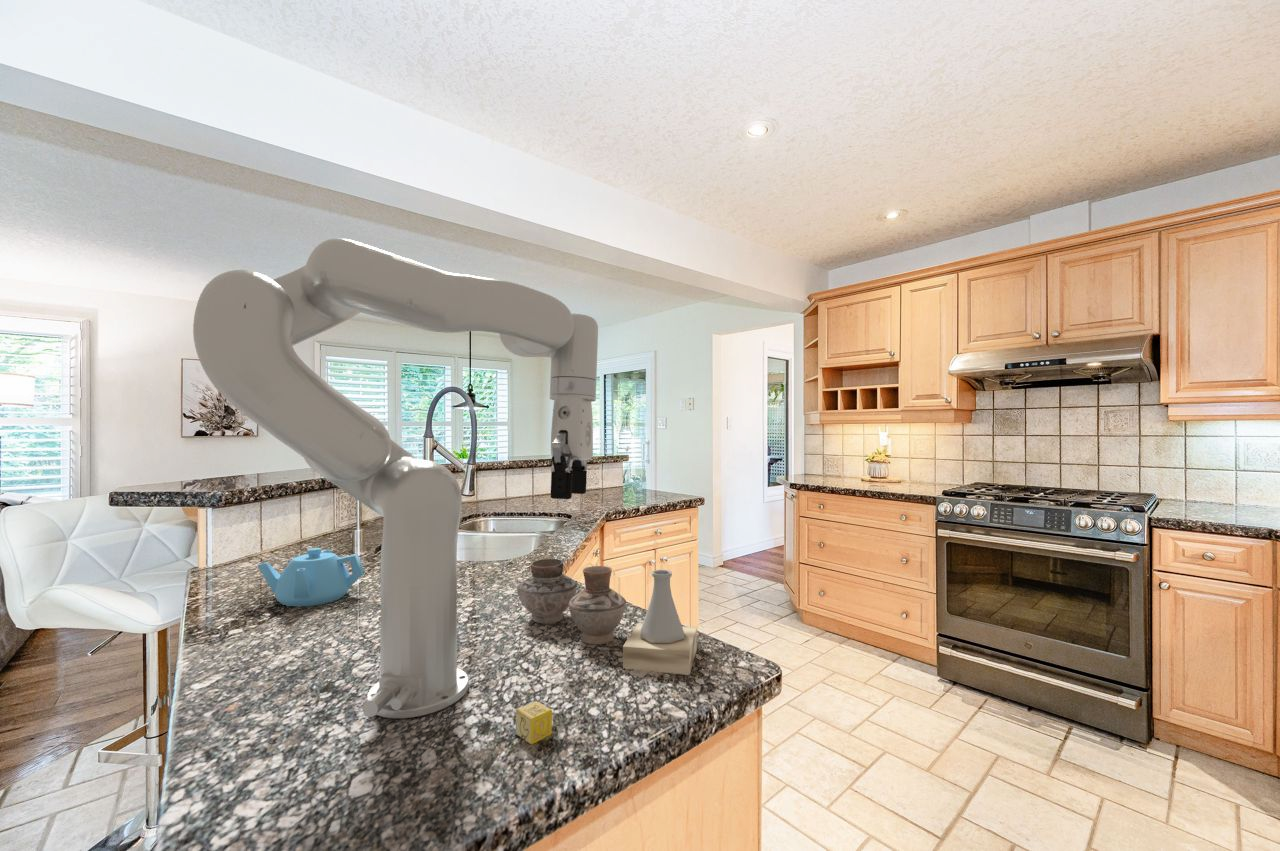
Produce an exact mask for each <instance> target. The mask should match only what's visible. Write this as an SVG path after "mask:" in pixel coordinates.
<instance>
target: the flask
mask: <svg viewBox="0 0 1280 851" xmlns="http://www.w3.org/2000/svg"><path fill="white" fill-rule="evenodd" d="M651 572H652V573H651V576H652V577H653V589H652V594H651V598H650V601H649V604H648V608H647V610H646V613H645V617H644V619H643V622H642V623H643V624H642V628H641V633H640V637H642V638H643V639H645V640H647V641H649V642H651V643H671V642H675V641H678V640H681V639H685V637H684V631H683V628H682V626H683V625H682V623H681V619H680V617H679V615H678V614H679V613H678V612H677V611H678V610H677V608H676V605H675V601H674V598H673V595H672V590H671V578H672V571H671V570H668V569H656V570H652V571H651Z"/></svg>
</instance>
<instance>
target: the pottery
mask: <svg viewBox="0 0 1280 851" xmlns="http://www.w3.org/2000/svg"><path fill="white" fill-rule="evenodd" d="M563 571H564V561H563V560H562V559H558V558H541V559H537V560H534V561H532V562H531V563H530V572H531V574H532V575H531V576H529V577H527V578H526V579H524V580H523V581H522V582H520V583H519V584H518V585H517V588H516V590H517V594H518V598H519V600H520V602H521V604H522V606H523V607H524V608H525V609H526V610H527V611H528V613H530V614H531V620H532V622H535V623H537V624H554V623H557V622H559V621H562V620H563V618H564V612H565V611H566V610H567V609H569V614H570V616H571V619H572V621H573V623H574V625H575V626H576V628H577V629H578V630H579V631H581V636H580V640H581V641H582V642H583V643H585V644H587V645H595V646H596V645H605V644H609V643H611V642H613V641H614V639H615V635H614V630H615V629H617V628H618V626H619V624H620V623H621V621H622V618H623V616H624V614H625V613H624V612H625V609H626V604H627V601H626V599H625V597H623V595H621V594H620V593H619V592H617V591H615V590H614V589H613V588H611V587H610V582H611V576H612V572H613V568H612V567H610V566H604V565H603V566H602V565H594V566H593V565H592V566H587V567H584V568H583V569H582V573H583V578H584V586H585V588H584V589H582V590H581V591H580V592H578V593H577V590H578V582H576V581H575V580H574V579H573V578H571V577H569V576H567V575H565V574H564V573H563ZM576 593H577V594H576Z"/></svg>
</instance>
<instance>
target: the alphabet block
mask: <svg viewBox="0 0 1280 851" xmlns="http://www.w3.org/2000/svg"><path fill="white" fill-rule="evenodd" d="M552 721H553V710H552V709H551V708H549V707H548V706H546V705H544V704H542V702H539V701H537V700H534V701H532V702H529V703H526V704H525V705H522V706H520V707H518V708H516V709H515V734H516V735H517V736H518V737H520V738H521V739H523V740H524V741H525V742H527V743H528V744H529V745H534V744H535V743H537V742H540V741H541V740H543V739H545V738H547V737H549V736H551V735H552V731H553V730H552V728H553V725H552V724H553V722H552Z"/></svg>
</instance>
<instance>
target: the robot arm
mask: <svg viewBox="0 0 1280 851" xmlns="http://www.w3.org/2000/svg"><path fill="white" fill-rule="evenodd" d="M360 313H362V314H365V315H369V316H373V317H377V318H382V319H385V320H388V321H392V322H396V323H400V324H404V325H407V326H410V327H414V328H416V329H421V330H425V331H428V332H434V333H443V334H445V333H448V334H449V333H452V334H454V333H462V332H484V333H485V332H486V333H493V334H499V338H500V342H501V343H502V345H503V347H504V348H505V349H506V350H507V351H508V352H510V353H512V354H513V355H516V356H519V357H522V358H523V357H525V358H540V357H541V358H550V376H549V377H550V379H549V384H550V385H549V400H552V401H553V405H552V406H553V407H552V418H551V430H550V433H551V434H550V455H551V462H552V463H551V466H550V467H551V468H550V469H551V472H550V473H551V474H550V477H551V478H550V498H551V499H554V500H555V499H556V500H557V499H559V500H570V499H572V498H573V494H577V495H578V494H579V495H585V494H586V493H587V479H588V478H587V472H588V471H587V469H588V468H587V467H588V464H587V461H589V460H591V459H592V458H593V454H594V448H593V447H594V436H593V435H594V434H593V433H594V432H593V430H594V427H593V426H594V425H593V423H594V422H593V421H594V420H593V419H594V418H593V406H592V402H596V400H597V396H596V394H597V377H598V376H597V375H598V374H597V372H598V371H597V370H598V368H597V367H598V347H599V346H598V344H599V343H598V342H599V341H598V340H599V325H598V322H597V320H596V319H595V318H594V317H592V316H590V315H586V314H581V313H572V312H571V311H570V309H569V308H568V307H567V305H566V304H565V303H564V302H562V301H561V300H559V299H558V298H556V297H554V296H553V295H550V294H547V293H545V292H543V291H540V290H536V289H534V288H531V287H529V286H525V285H522V284H519V283H515V282H512V281H507V280H502V279H496V278H489V277H482V276H475V275H470V274H463V273H462V274H460V273H453V272H450V271H449V272H448V271H444V270H441V269H438V268H435V267H432V266H430V265H427V264H423V263H421V262H418V261H415V260H413V259H410V258H405V257H402V256H400V255H396V254H394V253H392V252H388V251H385V250H383V249H379V248H377V247H374V246H371V245H368V244H364V243H362V242H359V241H355V240H352V239H347V238H339V237H338V238H337V237H336V238H335V237H334V238H329V239H327V240H324V241H321V243H319V244H318V245H317V246H315V248H313V250H312V251H311V253H310V255H309V256H308V258H307V261H306V263H305V265H303V266H302V267H299V268H296V269H295V270H293V271H291V272H289V273H286V274H284V275H282V276H279V277H276V278H274V279H272V278H270V277H268V276H267V275H265V274H262V273H259V272H257V271H252V270H248V269H247V270H246V269H234V270H233V269H232V270H229V271H225V272H222V273H220V274H218V275H216V276H214V277H213V278H212V279H211V281H208V283H207V284H206V285H205V287H203V289H202V291H201V293H200V295H199V297H198V300H197V302H196V307H195V310H194V315H193V317H194V318H193V325H192V327H193V330H192V332H193V333H192V334H193V343H194V347H195V350H196V354H197V357H198V359H199V360H198V361H199V363H200V365H201V367H202V369H203V371H204V373H205V374H206V377H207V378H208V379H209V381H210V382H211V384H212V385H213V387H214V388H215V389H216V390H217V392H218V393H219V394H221V396H222V398H224V399H225V400H226V401H228V402H229V404H231V405H232V406H233V407H234V408H236V410H238V412H240V413H241V414H243V415H244V416H246V417H247V418H248V419H250V420H251V421H252V422H253V423H254V424H257V425H258V426H259V427H260V428H262V429H263V430H264V431H266V432H267V433H269V434H270V435H271V436H273V437H274V438H276V439H277V440H278V441H279V442H281V443H283V444H284V445H285V446H287V447H289V448H290V449H291V450H293V451H294V452H296V453H297V454H298V455H299V456H300V457H303V459H304V461H305V462H306V464H307V465H308V466H309V467H310V468H311V470H313V471H314V472H316V473H317V474H318V475H320V476H321V477H323V478H324V479H325V480H327V481H329V482H330V483H331V484H333V485H335V486H336V487H337V488H339V489H340V490H342V491H344V492H345V493H346V494H348V495H349V496H351V497H352V498H355V499H356V500H357V501H358V502H360V503H361V504H363V505H365V506H366V507H367V508H368V509H371V510H372V511H373V512H375V513H376V514H378V515H379V516H381V517H382V518H383V525H382V526H383V528H382V529H383V530H382V540H381V547H380V548H381V549H380V567H379V568H380V571H379V573H380V575H379V577H380V581H379V582H380V648H379V649H380V655H379V656H380V658H379V659H380V663H379V664H380V665H379V666H380V667H379V668H380V669H379V670H380V672H379V673H380V674H379V677H378V682H377V683H376V684H374V685H373V686H371V689H370V690H369V691H368V693H367V695H366V701H365V702H363V705H362V712H363V714H364V715H365V716H366V717H369V718H372V717H375V716H379V717H381V718H386V719H409V718H415V717H422V716H427V715H429V714H433V713H435V712H439V711H441V710H444V709H446V708H448V707H450V706H452V705H453V704H455V703H457V702H458V701H459V700H461V699H462V698H463V697H464V695H465V694H466V693H467V692H468V689H469V681H470V680H469V679H470V678H469V675H468V674H467V673H466V672H465V671H464V670H462V669H460V668H458V574H457V573H458V568H457V566H458V564H457V563H458V562H457V561H458V542H459V541H458V540H459V529H460V523H461V516H462V507H463V505H462V504H463V500H462V498H463V497H462V496H463V495H462V491H461V486H460V483H459V482H458V480H457V478H456V477H455V475H454V474H453V472H452V471H451V470H449V469H448V468H447V467H446V466H445V465H443V464H441V463H439V462H436V461H433V460H430V459H429V460H427V459H421V458H417V457H415V456H413V455H412V454H411V453H410V452H409V451H407V450H405V448H403V447H402V446H400V445H399V444H398V443H396V442H395V441H394V440H392V439H391V436H390V433H389V431H388V430H387V428H386V427H385V425H384V424H383V423H382V422H381V421H380V420H379V419H378V418H377V417H375V416H374V415H372V414H371V413H369V412H367V411H366V410H364V408H361V407H360V406H359V405H357V404H356V403H355V402H354V401H352V400H351V399H349V397H346V396H345V395H344V394H343V393H341V392H340V391H338V390H337V389H336V388H334V387H333V386H332V385H330V384H329V383H328V382H327V381H325V379H323V377H321V376H320V375H318V373H317V372H315V371H314V370H313V369H311V368H310V367H309V366H308V365H307V364H306V363H305V362H304V361H303V359H301V358H300V356H299V355H298V354H297V352H296V351H295V349H294V346H295V345H297V344H301V342H304V341H306V340H308V339H311V338H313V337H315V336H317V335H319V334H322V333H325V332H326V331H328V330H330V329H332V328H334V327H337V326H338V325H340V324H342V323H344V322H346V321H348V320H350V319H352V318H354V317H355V316H357V315H359V314H360Z"/></svg>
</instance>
